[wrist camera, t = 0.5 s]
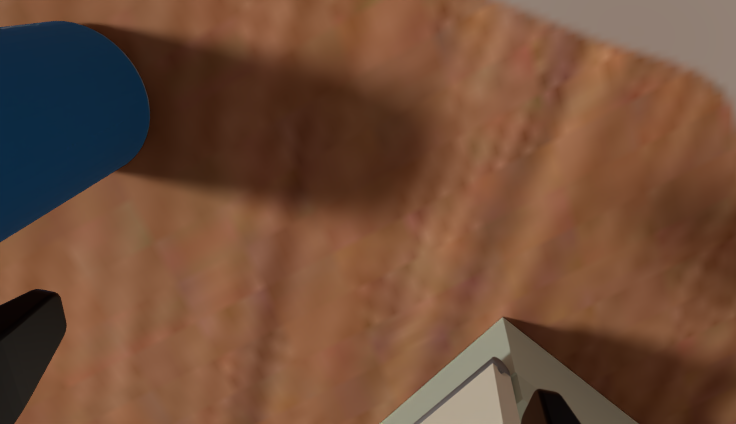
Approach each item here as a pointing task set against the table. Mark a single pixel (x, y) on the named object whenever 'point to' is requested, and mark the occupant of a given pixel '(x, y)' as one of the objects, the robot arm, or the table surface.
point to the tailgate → (478, 399)
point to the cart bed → (513, 379)
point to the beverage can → (63, 116)
